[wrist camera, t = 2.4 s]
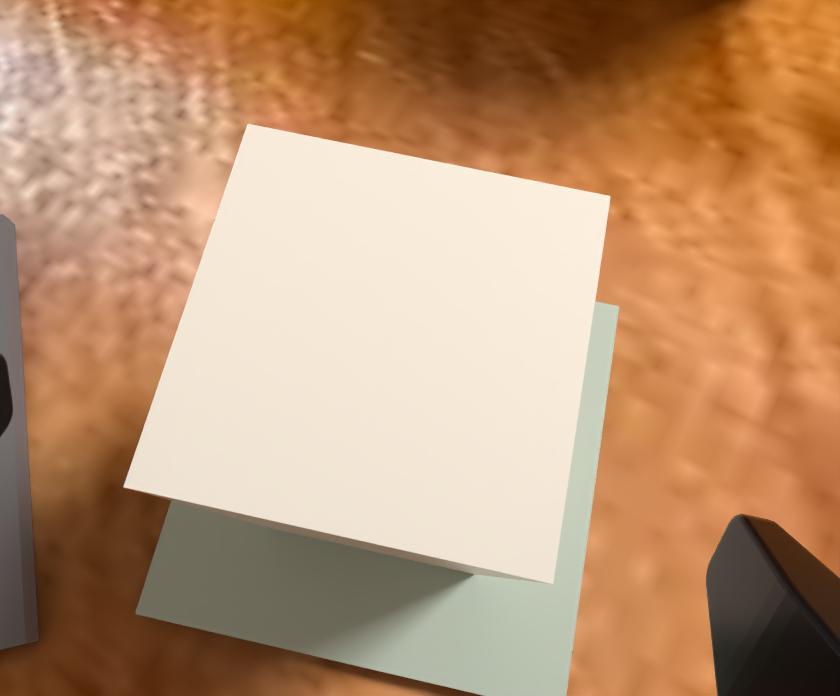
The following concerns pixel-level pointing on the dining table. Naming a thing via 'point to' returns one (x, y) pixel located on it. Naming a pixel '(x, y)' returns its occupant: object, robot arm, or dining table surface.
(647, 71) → the dining table surface
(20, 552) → the mat
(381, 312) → the block
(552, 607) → the coaster
